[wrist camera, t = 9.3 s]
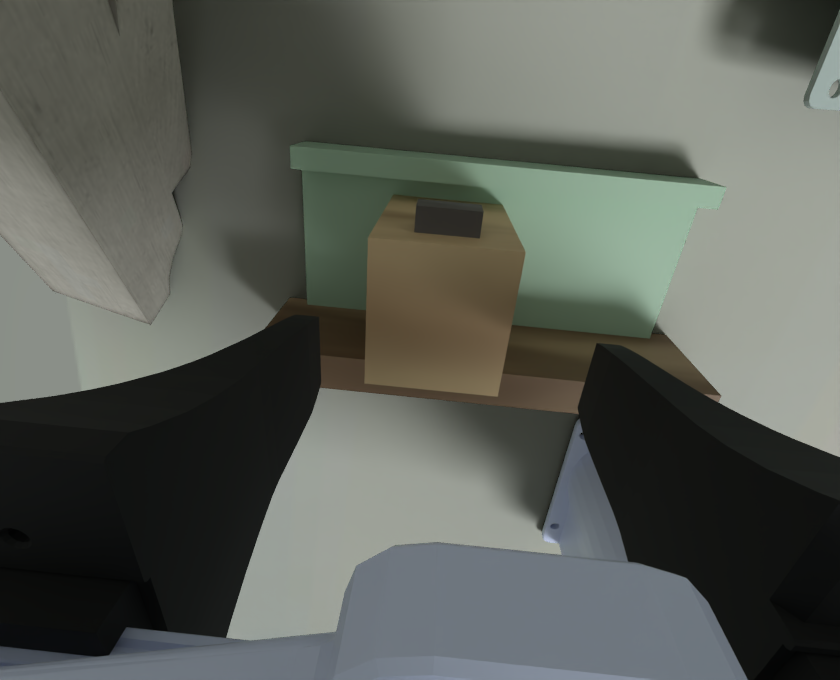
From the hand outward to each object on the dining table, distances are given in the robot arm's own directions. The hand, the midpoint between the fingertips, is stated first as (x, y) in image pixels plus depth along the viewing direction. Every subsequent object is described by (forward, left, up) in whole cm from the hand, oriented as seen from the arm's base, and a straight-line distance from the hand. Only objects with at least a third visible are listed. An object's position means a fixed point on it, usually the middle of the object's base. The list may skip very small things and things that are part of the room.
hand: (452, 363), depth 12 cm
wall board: (-4, -1, -10) cm, 10 cm away
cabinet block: (0, 0, -9) cm, 9 cm away
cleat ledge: (+1, -1, -10) cm, 10 cm away
